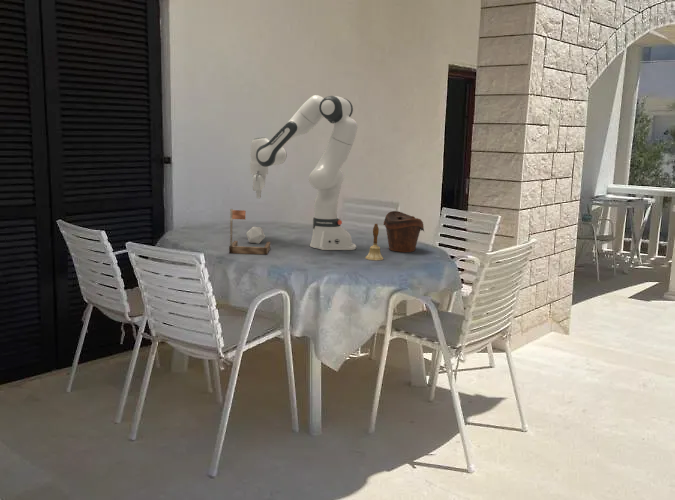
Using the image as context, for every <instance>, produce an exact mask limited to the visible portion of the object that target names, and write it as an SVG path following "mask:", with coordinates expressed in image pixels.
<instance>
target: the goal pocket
mask: <svg viewBox="0 0 675 500" xmlns="http://www.w3.org/2000/svg"><path fill="white" fill-rule="evenodd" d="M229 210H230V212H229V215H230V217H229V221H230V222H229V224H230V225H229V228H230V230H229V231H230V232H229V235H230V236H229V247H228V248H229V249H228V250H229V251H228V253H229V254H240V255H241V254H242V255H244V254H245V255H265V256H266V255H268V253H269V252H270V249H271V241H266V243H265V245H264V246H241V245H240V246H239V244H238V240H233V220H246V210H244V209H242V210H241V209H239V210H235V209H233V208H230V209H229Z"/></svg>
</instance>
